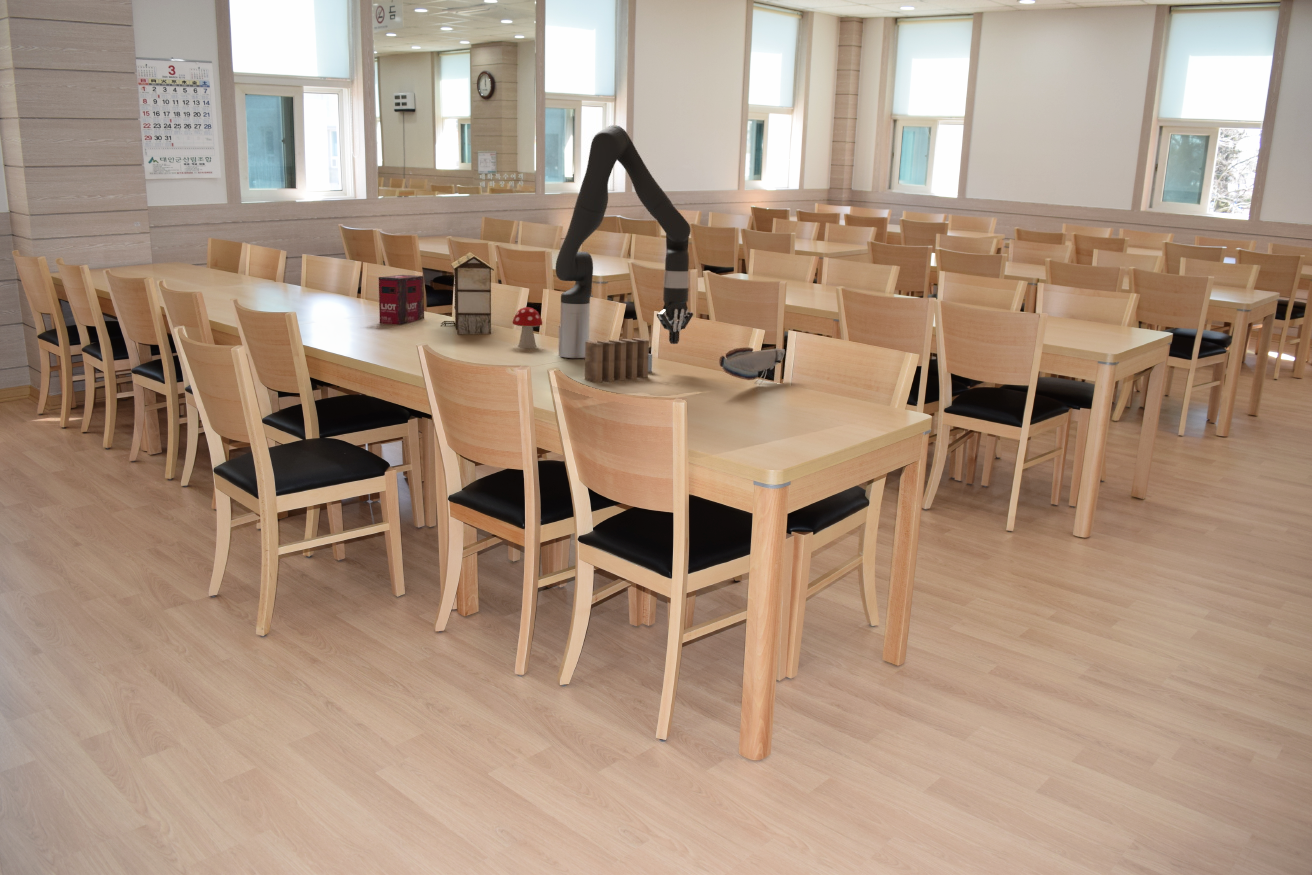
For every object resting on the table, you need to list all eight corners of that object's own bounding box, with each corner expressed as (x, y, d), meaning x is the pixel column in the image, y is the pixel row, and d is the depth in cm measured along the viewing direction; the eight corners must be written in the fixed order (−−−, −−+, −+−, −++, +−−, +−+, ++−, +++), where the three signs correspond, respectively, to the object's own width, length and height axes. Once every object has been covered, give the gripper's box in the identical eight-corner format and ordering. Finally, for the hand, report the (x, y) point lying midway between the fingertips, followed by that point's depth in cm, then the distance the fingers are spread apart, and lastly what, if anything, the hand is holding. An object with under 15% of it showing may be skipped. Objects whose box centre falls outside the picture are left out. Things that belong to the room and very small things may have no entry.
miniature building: (494, 342, 358) (493, 256, 352) (440, 341, 354) (438, 255, 347) (488, 332, 382) (488, 252, 375) (438, 332, 378) (437, 251, 371)
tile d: (596, 378, 293) (597, 340, 291) (601, 377, 294) (602, 340, 292) (608, 381, 289) (609, 343, 286) (613, 381, 290) (614, 343, 287)
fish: (722, 395, 275) (725, 352, 272) (704, 391, 279) (706, 349, 276) (794, 382, 299) (797, 343, 296) (776, 379, 303) (779, 340, 300)
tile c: (608, 377, 296) (609, 340, 293) (612, 376, 297) (613, 339, 295) (620, 380, 291) (621, 342, 289) (625, 379, 293) (626, 342, 290)
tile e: (584, 379, 291) (585, 341, 288) (589, 378, 292) (590, 341, 289) (596, 382, 286) (597, 344, 284) (601, 382, 287) (602, 344, 285)
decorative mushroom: (544, 351, 342) (545, 306, 338) (539, 354, 333) (539, 309, 330) (515, 349, 342) (515, 305, 339) (509, 353, 334) (509, 308, 331)
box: (404, 326, 390) (403, 274, 385) (424, 328, 387) (423, 276, 383) (379, 331, 375) (378, 277, 370) (400, 333, 372) (399, 278, 367)
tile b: (619, 376, 299) (620, 339, 296) (624, 375, 300) (625, 338, 297) (631, 379, 294) (632, 341, 292) (636, 378, 295) (637, 341, 293)
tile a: (630, 374, 301) (631, 338, 299) (635, 374, 302) (636, 338, 300) (643, 378, 297) (644, 341, 294) (647, 377, 298) (649, 340, 295)
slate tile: (646, 374, 304) (624, 369, 312) (651, 374, 305) (629, 368, 313) (647, 354, 302) (625, 349, 311) (652, 354, 304) (630, 349, 312)
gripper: (666, 287, 294) (664, 346, 298) (701, 286, 302) (698, 344, 306) (651, 285, 300) (649, 343, 304) (684, 284, 308) (682, 341, 312)
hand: (674, 343), depth 305 cm, fingers closed
